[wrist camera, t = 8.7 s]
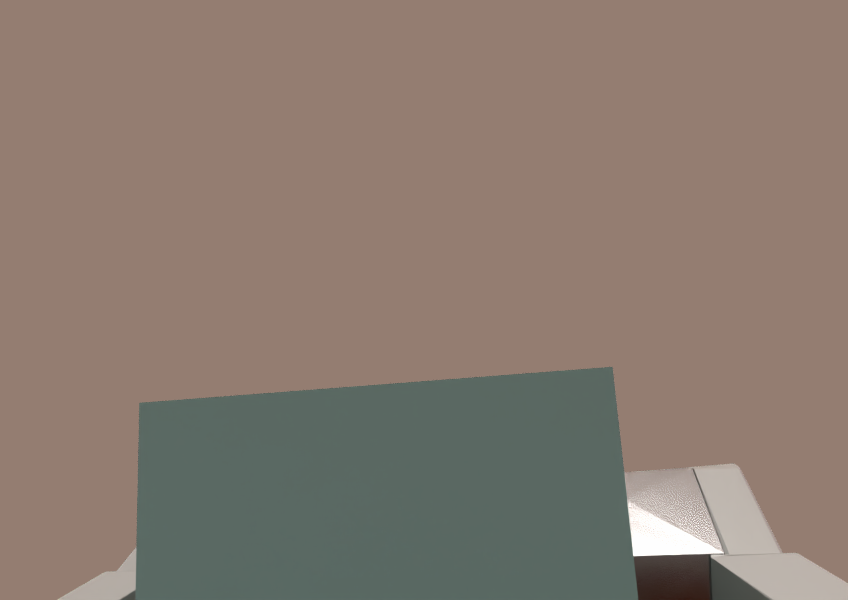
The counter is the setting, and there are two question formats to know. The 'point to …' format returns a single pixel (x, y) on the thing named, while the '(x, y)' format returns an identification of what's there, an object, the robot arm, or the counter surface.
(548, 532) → the stub bar
